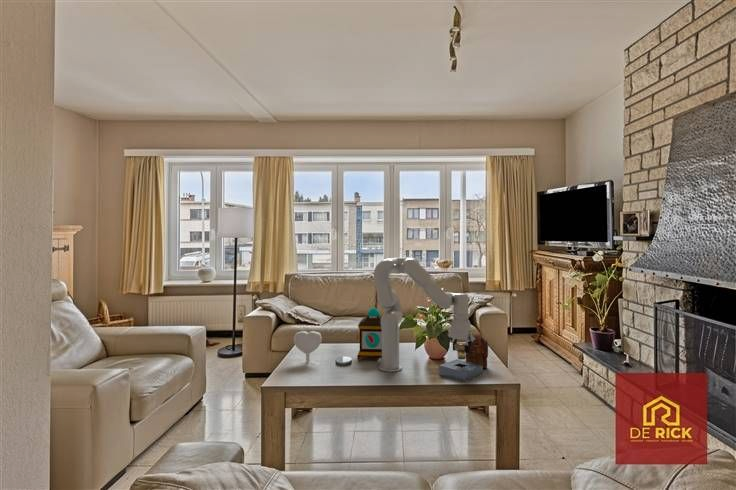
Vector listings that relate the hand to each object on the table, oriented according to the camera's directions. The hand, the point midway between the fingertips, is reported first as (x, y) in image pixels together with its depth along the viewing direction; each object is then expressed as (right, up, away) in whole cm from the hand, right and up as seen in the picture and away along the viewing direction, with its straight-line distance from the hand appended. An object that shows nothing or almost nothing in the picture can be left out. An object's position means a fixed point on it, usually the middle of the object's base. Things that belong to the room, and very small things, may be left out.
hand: (461, 351), depth 218 cm
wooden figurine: (+11, -12, +13) cm, 21 cm away
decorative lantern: (-45, -12, +33) cm, 57 cm away
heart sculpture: (-83, -13, +22) cm, 86 cm away
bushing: (0, -4, 0) cm, 4 cm away
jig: (0, -12, 0) cm, 12 cm away
